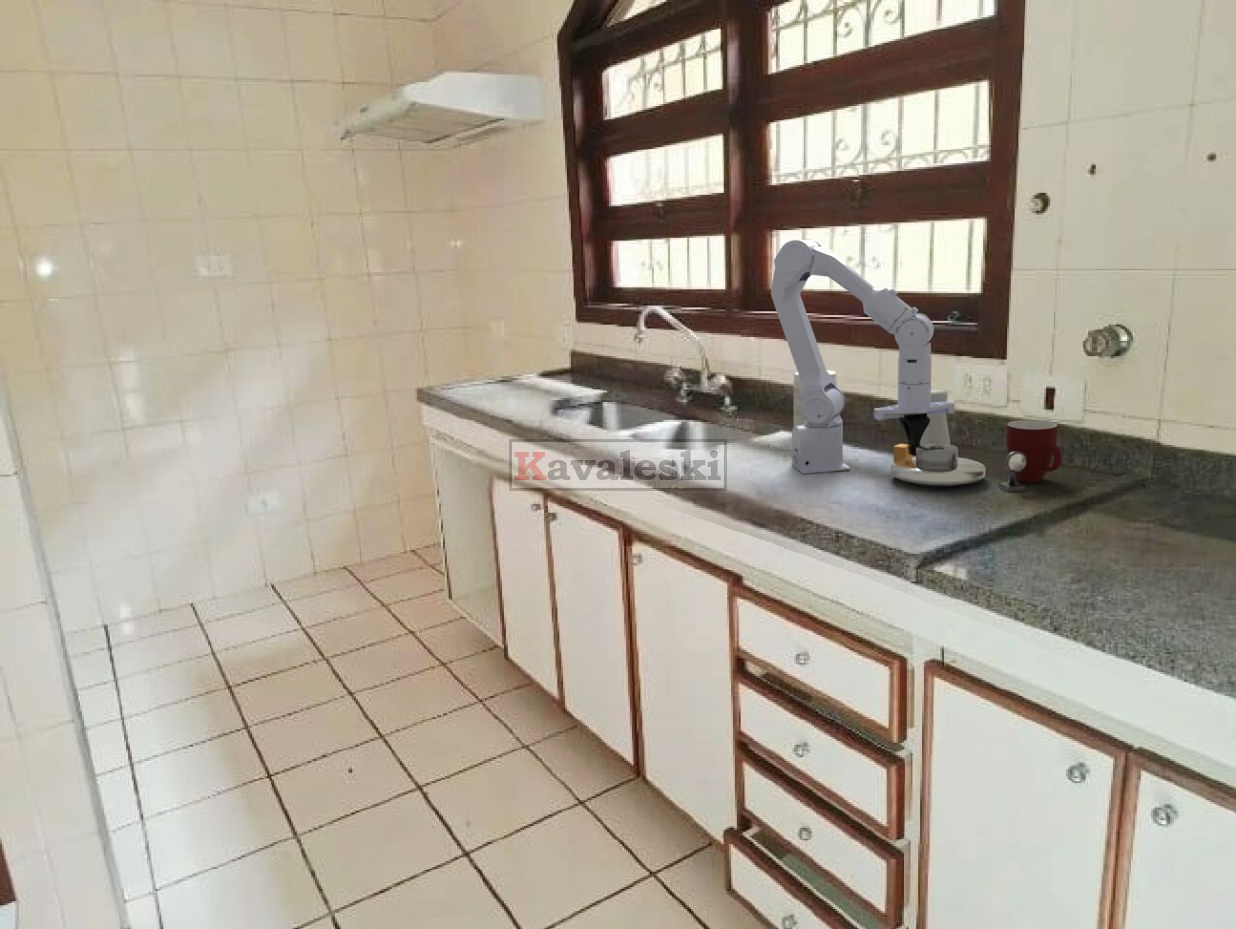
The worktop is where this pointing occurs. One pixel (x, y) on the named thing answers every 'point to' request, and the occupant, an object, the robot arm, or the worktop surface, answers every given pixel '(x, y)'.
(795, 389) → the supplement tub
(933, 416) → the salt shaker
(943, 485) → the turntable base
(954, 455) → the cover
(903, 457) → the turntable
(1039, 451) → the mug
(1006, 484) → the dial gauge
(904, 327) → the robot arm
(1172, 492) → the worktop surface
